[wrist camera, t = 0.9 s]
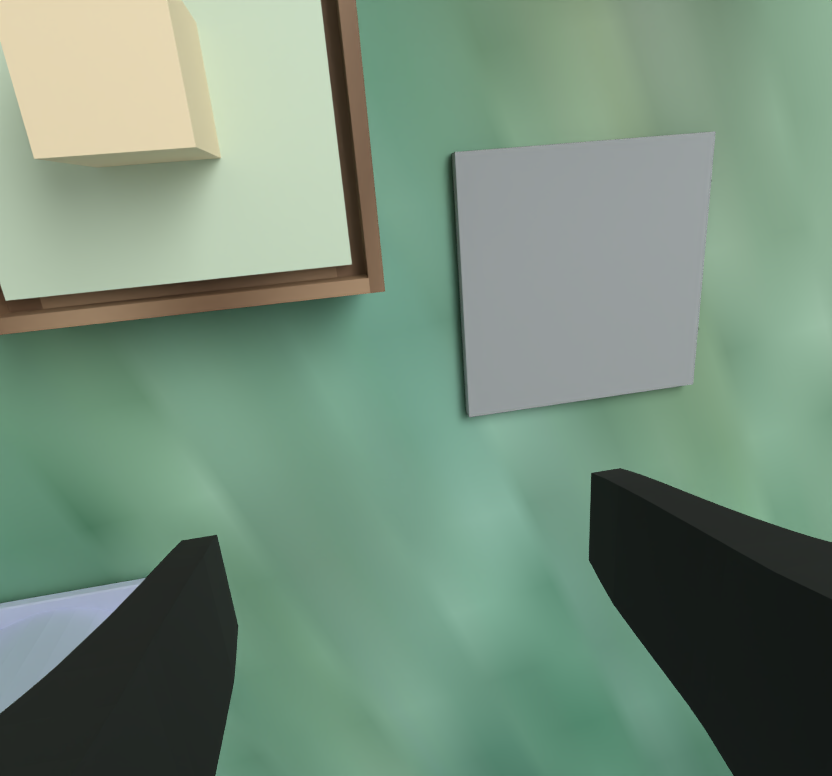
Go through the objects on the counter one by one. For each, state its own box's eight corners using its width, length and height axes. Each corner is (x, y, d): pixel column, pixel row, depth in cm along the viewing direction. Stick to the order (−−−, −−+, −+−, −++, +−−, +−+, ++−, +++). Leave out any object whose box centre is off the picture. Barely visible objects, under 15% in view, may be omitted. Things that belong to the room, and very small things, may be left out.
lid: (21, 295, 14) (-80, 330, 11) (-109, -112, 12) (-309, -260, 8) (349, 261, 16) (363, 281, 12) (304, -116, 13) (303, -247, 9)
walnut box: (48, 308, 17) (-20, 336, 14) (-74, -90, 14) (-204, -187, 10) (370, 273, 19) (384, 291, 15) (330, -96, 15) (337, -183, 12)
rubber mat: (466, 413, 21) (469, 417, 21) (451, 152, 18) (455, 152, 18) (686, 380, 22) (693, 384, 22) (707, 132, 19) (715, 131, 19)
